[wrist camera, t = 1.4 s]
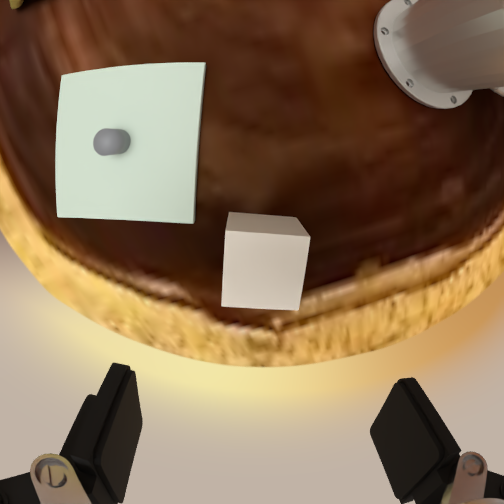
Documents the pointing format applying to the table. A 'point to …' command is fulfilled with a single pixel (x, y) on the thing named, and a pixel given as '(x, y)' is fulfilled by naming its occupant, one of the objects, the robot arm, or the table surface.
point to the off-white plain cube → (264, 261)
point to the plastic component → (15, 3)
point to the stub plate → (151, 150)
